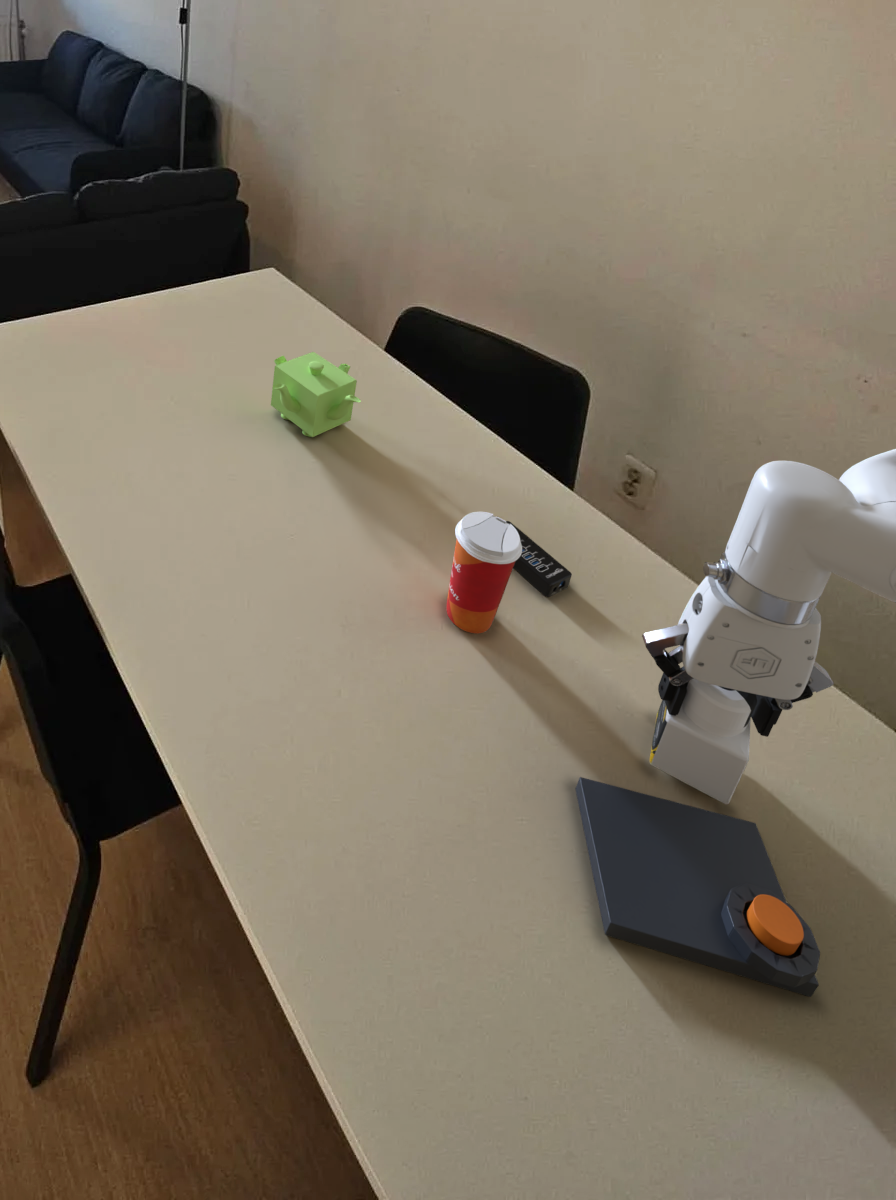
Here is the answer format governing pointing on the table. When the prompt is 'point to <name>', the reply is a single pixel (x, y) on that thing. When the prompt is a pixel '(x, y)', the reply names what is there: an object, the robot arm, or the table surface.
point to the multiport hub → (540, 567)
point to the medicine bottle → (705, 738)
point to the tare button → (775, 925)
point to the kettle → (313, 393)
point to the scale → (686, 884)
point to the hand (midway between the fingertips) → (712, 712)
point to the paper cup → (480, 569)
